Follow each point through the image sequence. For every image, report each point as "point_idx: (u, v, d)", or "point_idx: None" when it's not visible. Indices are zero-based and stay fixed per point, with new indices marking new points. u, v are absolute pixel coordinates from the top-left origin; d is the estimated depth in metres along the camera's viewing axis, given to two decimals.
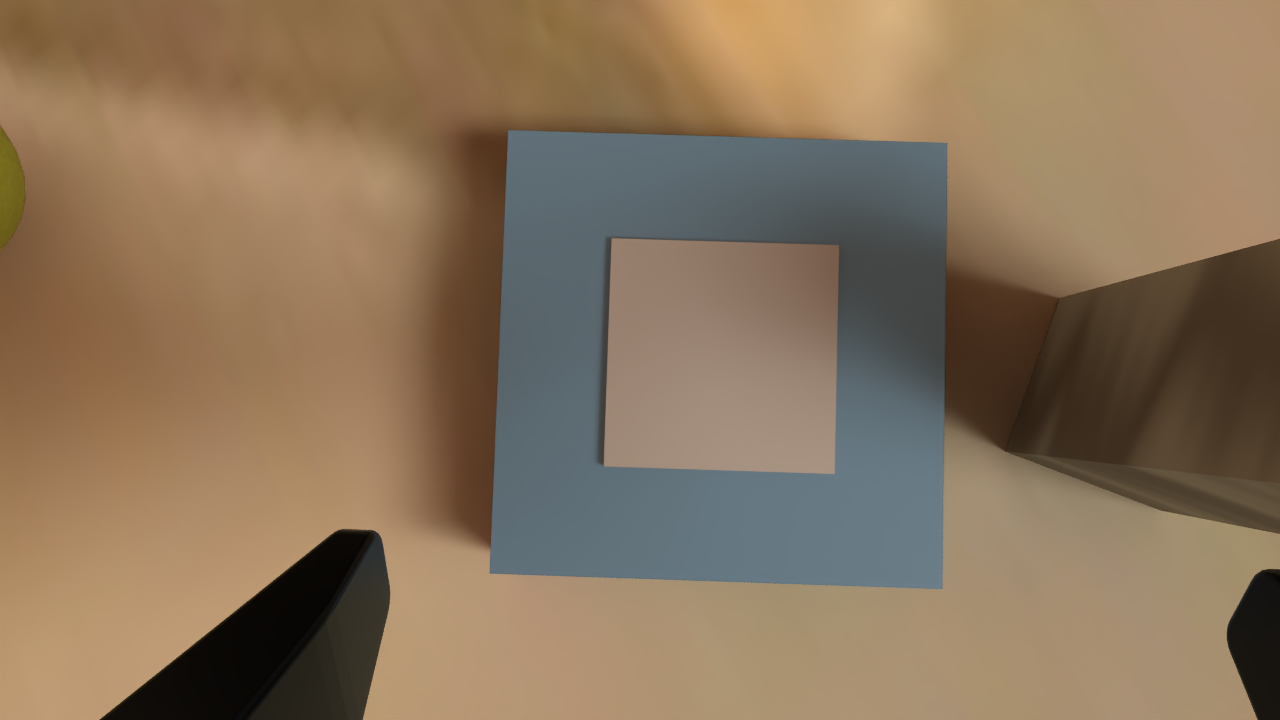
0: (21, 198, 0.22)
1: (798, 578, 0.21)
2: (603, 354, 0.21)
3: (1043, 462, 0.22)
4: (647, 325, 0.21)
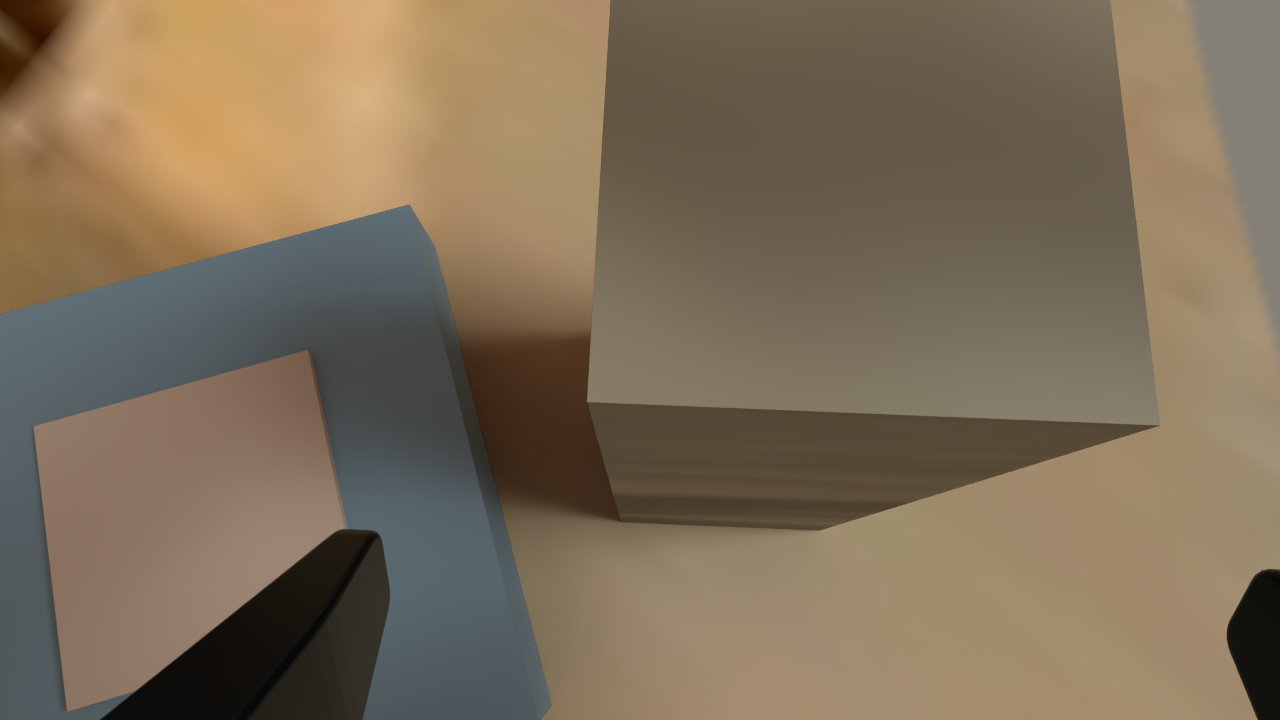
0: None
1: None
2: (51, 568, 0.17)
3: (651, 520, 0.18)
4: (94, 515, 0.17)
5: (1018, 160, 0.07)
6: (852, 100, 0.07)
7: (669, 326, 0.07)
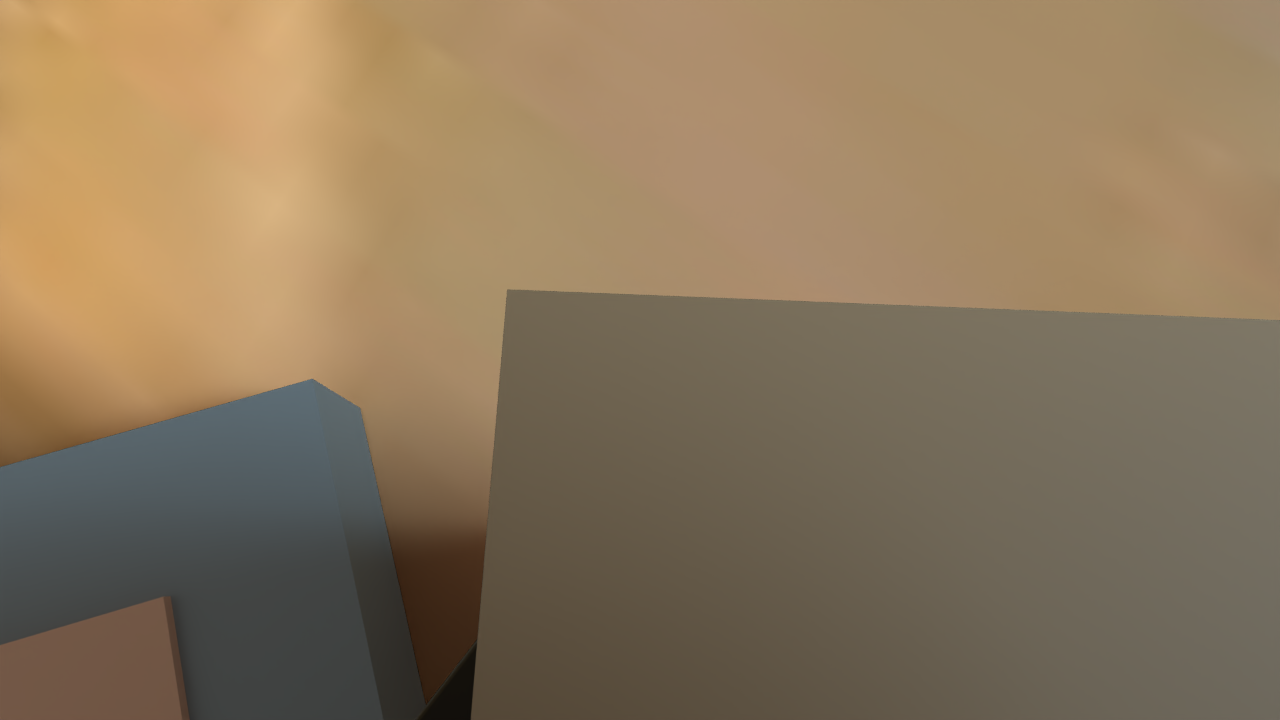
0: None
1: None
2: None
3: None
4: None
5: None
6: None
7: None
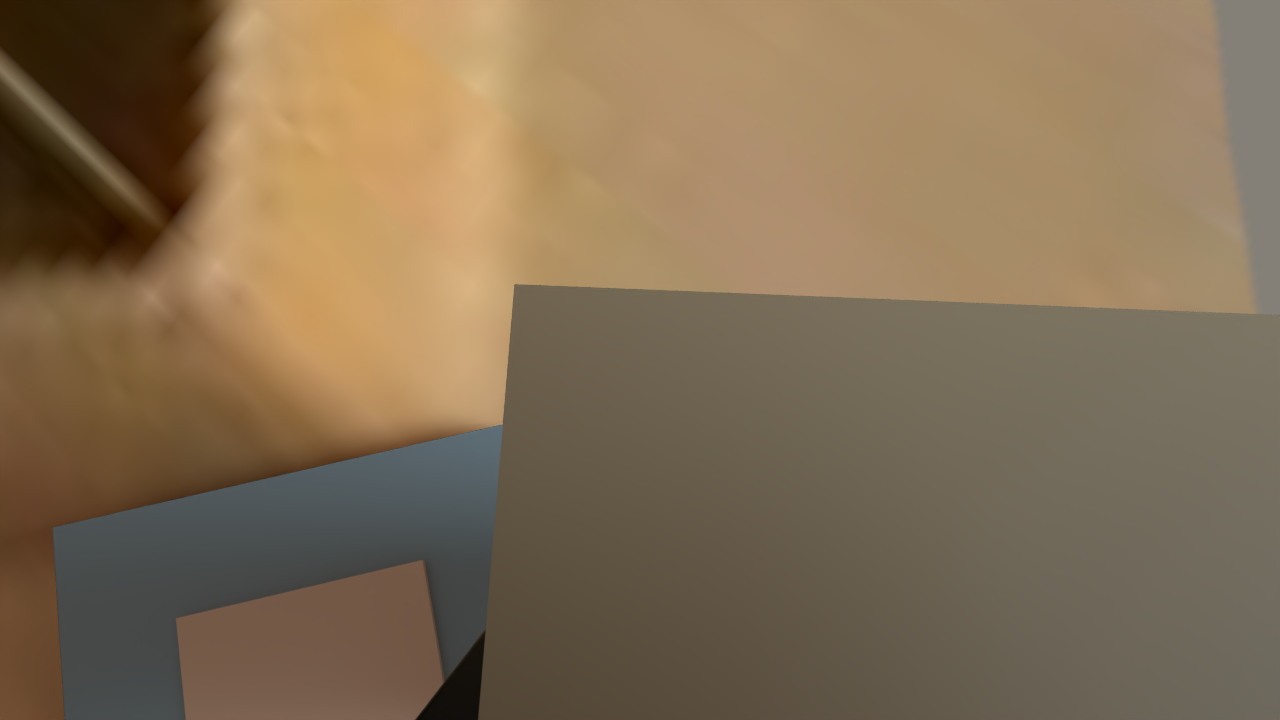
0: None
1: None
2: None
3: None
4: (229, 706, 0.19)
5: None
6: None
7: None
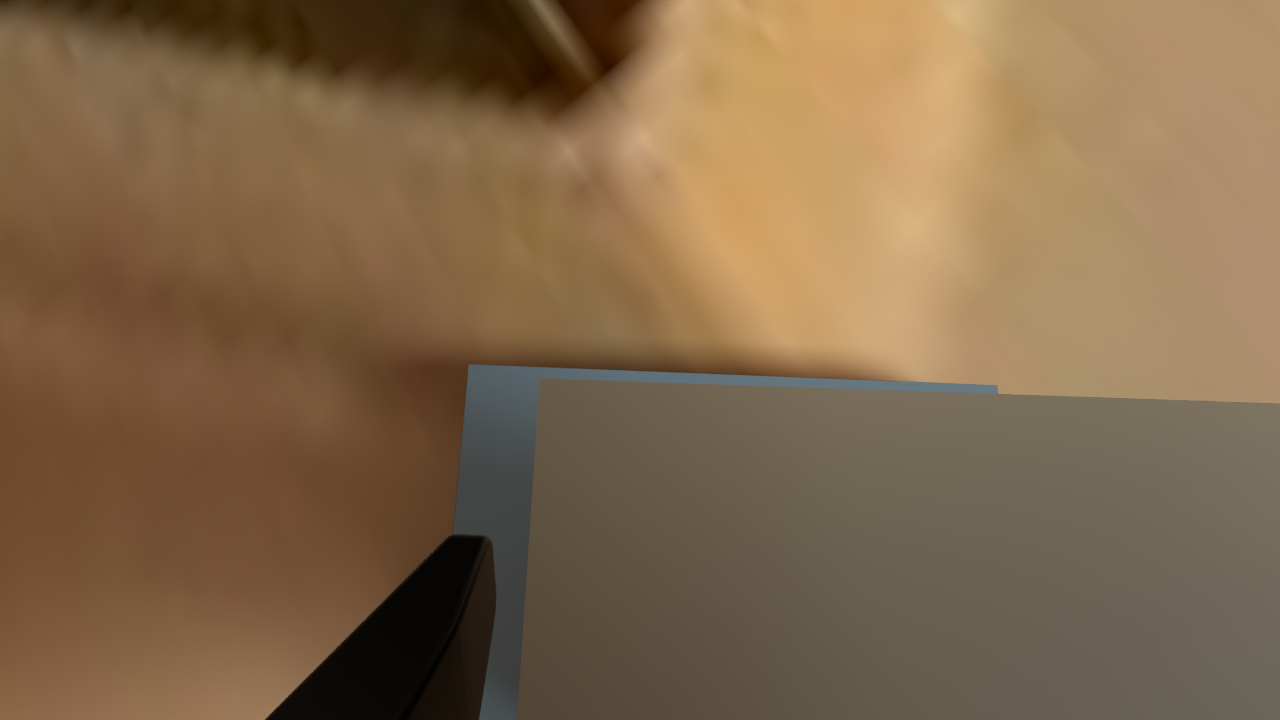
0: None
1: None
2: None
3: None
4: None
5: None
6: None
7: None
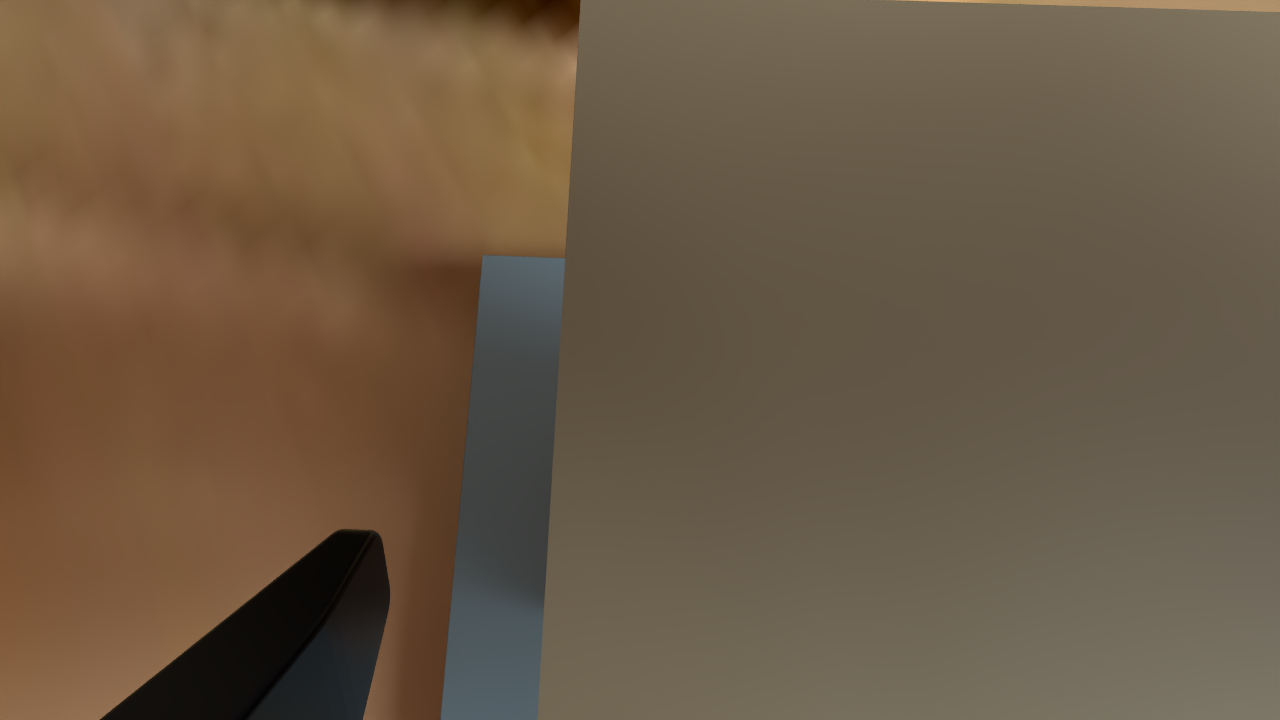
0: None
1: None
2: None
3: None
4: None
5: (1229, 378, 0.05)
6: (958, 277, 0.05)
7: (668, 680, 0.04)
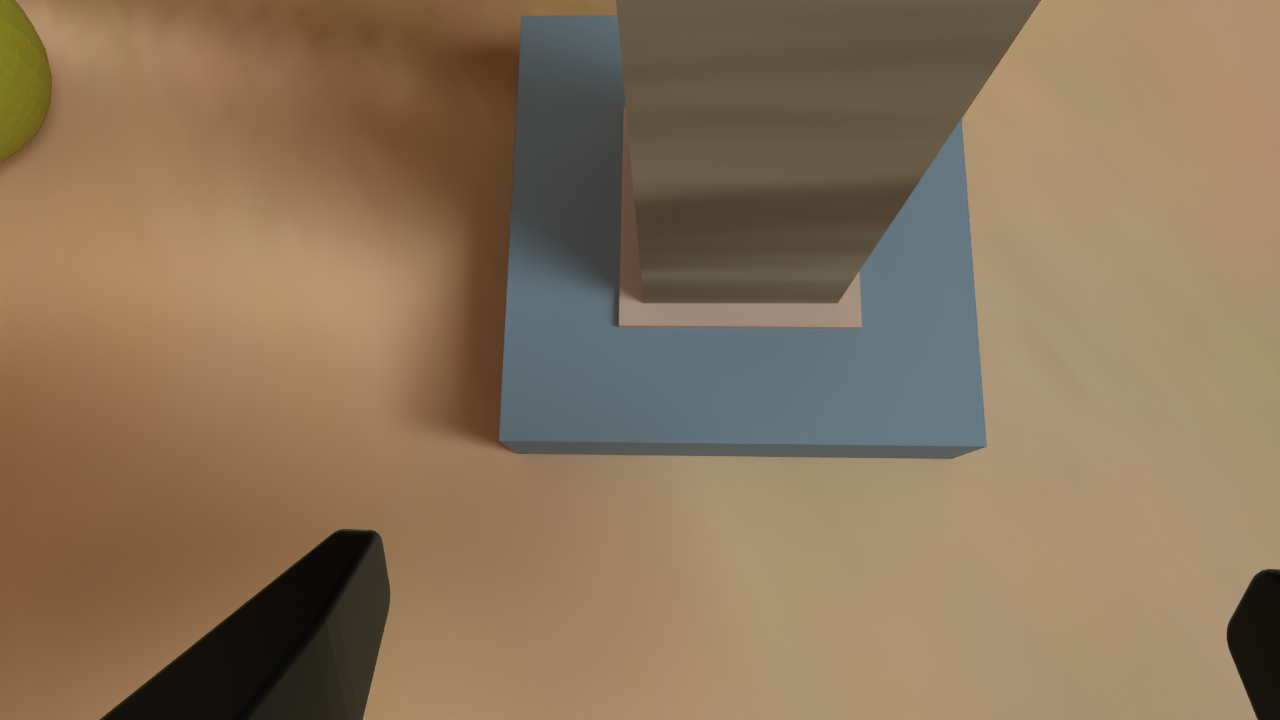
0: (46, 93, 0.22)
1: (829, 438, 0.19)
2: (617, 218, 0.21)
3: (673, 292, 0.19)
4: None
5: None
6: None
7: None
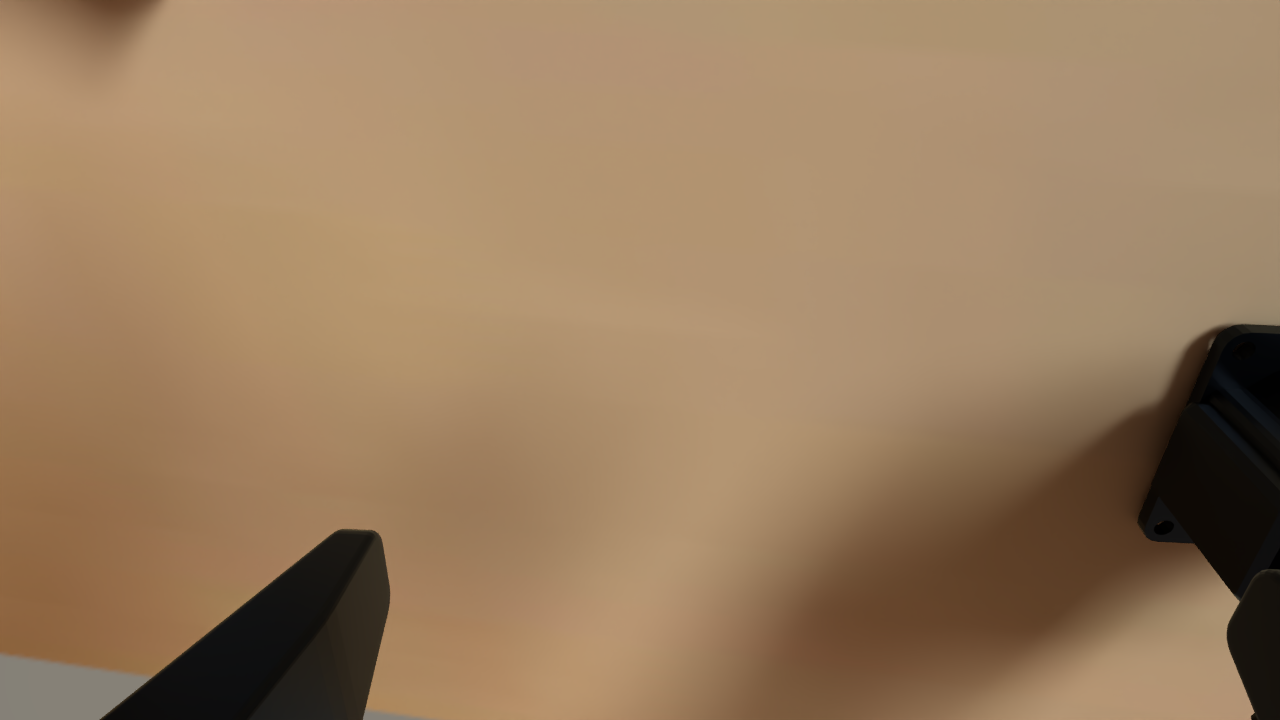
0: None
1: None
2: None
3: None
4: None
5: None
6: None
7: None
